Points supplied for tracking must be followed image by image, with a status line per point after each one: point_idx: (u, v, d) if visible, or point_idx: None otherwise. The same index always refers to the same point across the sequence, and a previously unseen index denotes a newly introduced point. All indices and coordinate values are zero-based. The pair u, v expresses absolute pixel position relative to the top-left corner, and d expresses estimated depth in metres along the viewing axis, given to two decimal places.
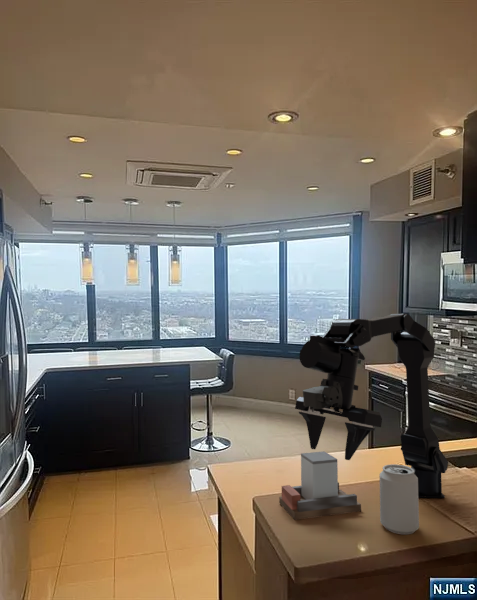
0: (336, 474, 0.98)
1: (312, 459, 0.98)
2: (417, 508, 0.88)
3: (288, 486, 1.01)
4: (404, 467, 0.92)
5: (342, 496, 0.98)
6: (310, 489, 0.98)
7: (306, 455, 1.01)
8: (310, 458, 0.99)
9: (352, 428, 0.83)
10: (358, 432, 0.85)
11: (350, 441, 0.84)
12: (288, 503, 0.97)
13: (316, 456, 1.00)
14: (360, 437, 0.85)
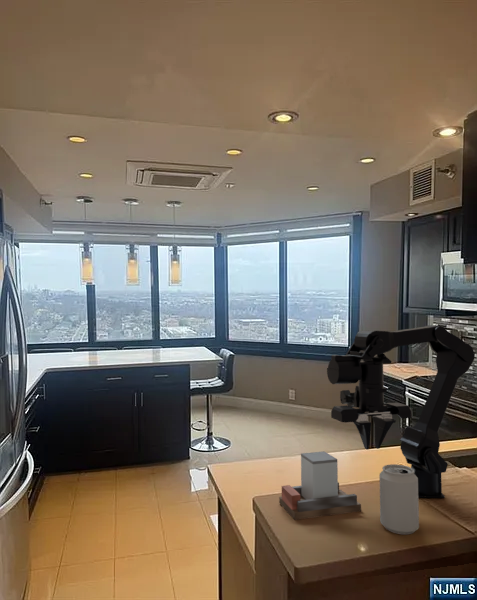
0: (336, 474, 0.98)
1: (312, 459, 0.98)
2: (417, 508, 0.88)
3: (288, 486, 1.01)
4: (404, 467, 0.92)
5: (342, 496, 0.98)
6: (310, 489, 0.98)
7: (306, 455, 1.01)
8: (310, 458, 0.99)
9: None
10: (363, 426, 1.04)
11: None
12: (288, 503, 0.97)
13: (316, 456, 1.00)
14: (363, 430, 1.03)
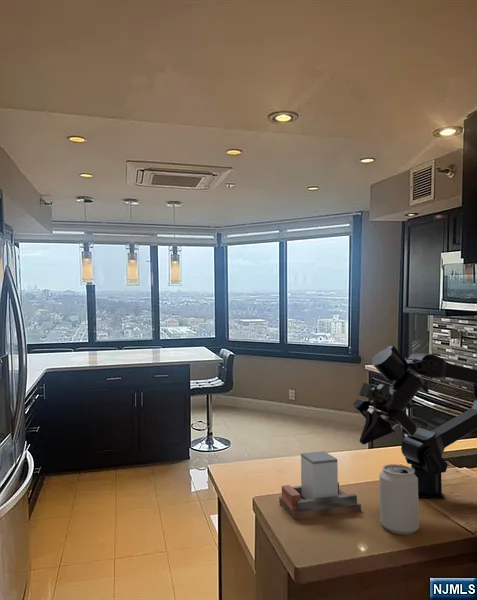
0: (336, 474, 0.98)
1: (312, 459, 0.98)
2: (417, 508, 0.88)
3: (288, 486, 1.01)
4: (404, 467, 0.92)
5: (342, 496, 0.98)
6: (310, 489, 0.98)
7: (306, 455, 1.01)
8: (310, 458, 0.99)
9: (375, 418, 1.03)
10: (380, 427, 1.04)
11: (370, 429, 1.03)
12: (288, 503, 0.97)
13: (316, 456, 1.00)
14: (380, 432, 1.04)
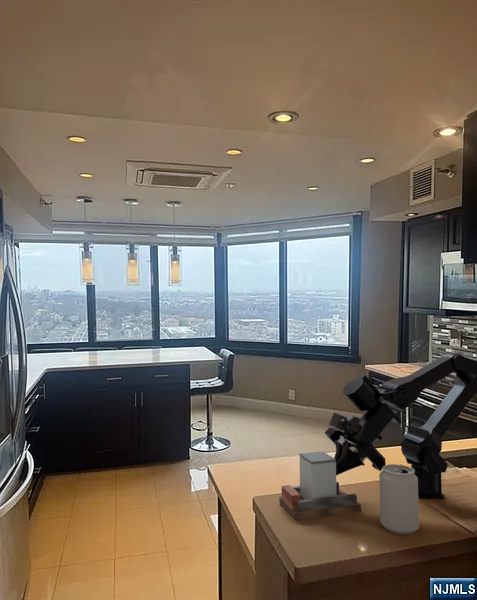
0: (334, 474, 0.98)
1: (311, 459, 0.98)
2: (417, 508, 0.88)
3: (288, 486, 1.01)
4: (404, 467, 0.92)
5: (342, 496, 0.98)
6: (308, 490, 0.98)
7: (304, 455, 1.01)
8: (309, 458, 0.99)
9: (345, 450, 1.00)
10: (350, 459, 1.01)
11: (339, 461, 1.01)
12: (288, 503, 0.97)
13: (314, 456, 1.00)
14: (349, 464, 1.01)
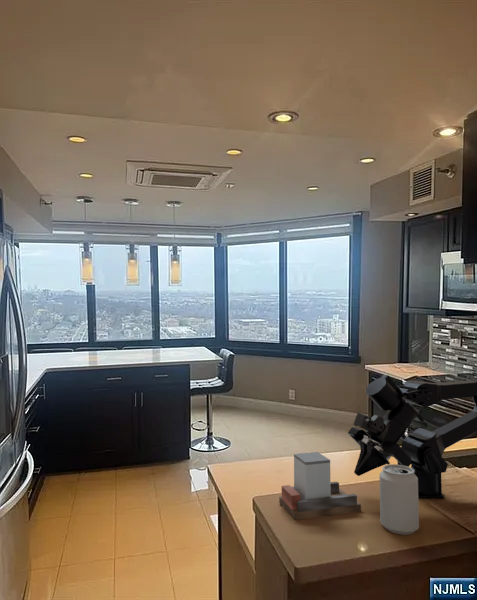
0: (329, 475, 0.98)
1: (305, 460, 0.98)
2: (417, 508, 0.88)
3: (288, 486, 1.01)
4: (404, 467, 0.92)
5: (342, 496, 0.98)
6: (303, 490, 0.97)
7: (299, 456, 1.01)
8: (303, 459, 0.99)
9: (370, 450, 1.02)
10: (375, 458, 1.03)
11: (365, 460, 1.03)
12: (288, 503, 0.97)
13: (309, 457, 1.00)
14: (375, 463, 1.03)
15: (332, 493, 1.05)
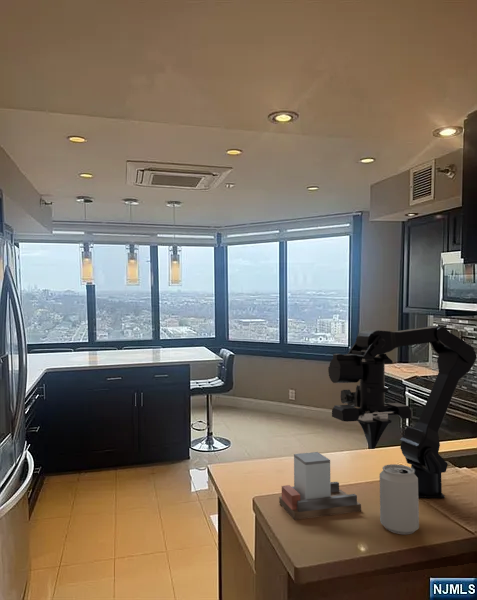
0: (329, 475, 0.98)
1: (305, 460, 0.98)
2: (417, 508, 0.88)
3: (288, 486, 1.01)
4: (404, 467, 0.92)
5: (342, 496, 0.98)
6: (303, 490, 0.97)
7: (299, 456, 1.01)
8: (303, 459, 0.99)
9: None
10: (368, 425, 1.04)
11: None
12: (288, 503, 0.97)
13: (309, 457, 1.00)
14: (368, 430, 1.03)
15: (332, 493, 1.05)
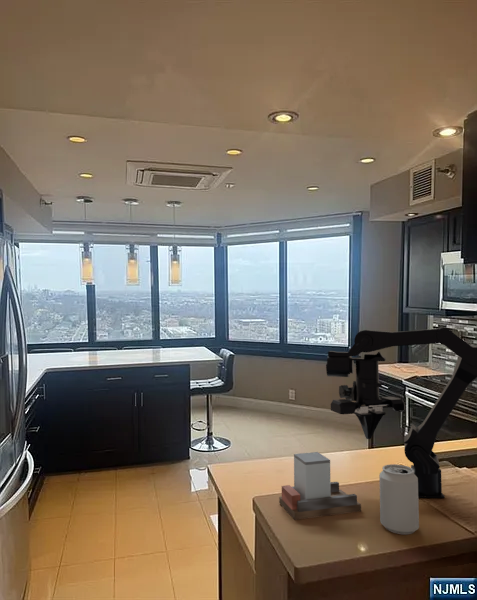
0: (329, 475, 0.98)
1: (305, 460, 0.98)
2: (417, 508, 0.88)
3: (288, 486, 1.01)
4: (404, 467, 0.92)
5: (342, 496, 0.98)
6: (303, 490, 0.97)
7: (299, 456, 1.01)
8: (303, 459, 0.99)
9: None
10: (364, 417, 1.13)
11: None
12: (288, 503, 0.97)
13: (309, 457, 1.00)
14: (364, 421, 1.12)
15: (332, 493, 1.05)
